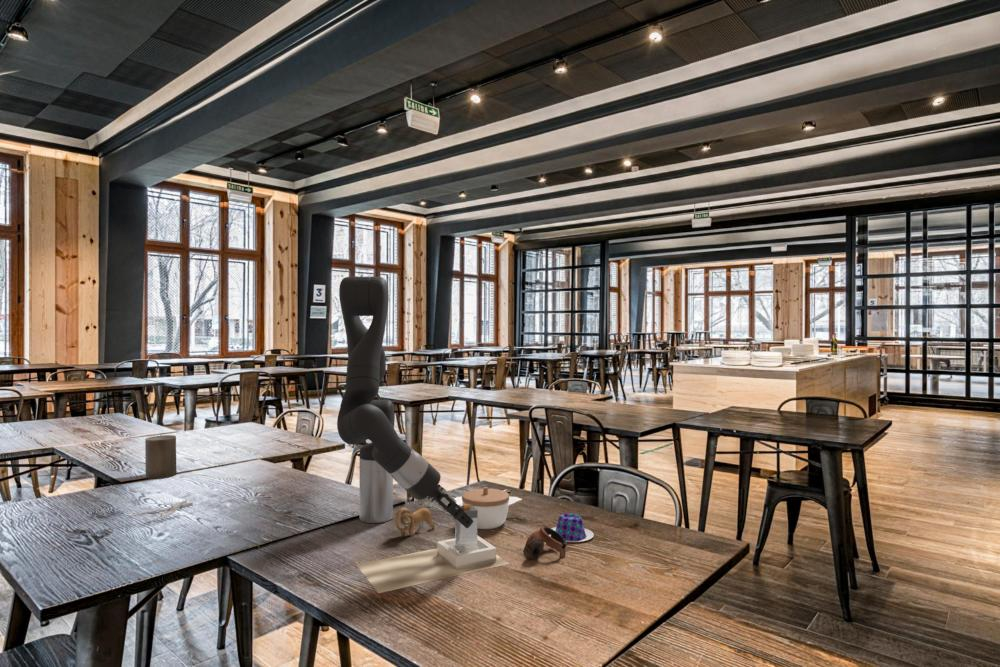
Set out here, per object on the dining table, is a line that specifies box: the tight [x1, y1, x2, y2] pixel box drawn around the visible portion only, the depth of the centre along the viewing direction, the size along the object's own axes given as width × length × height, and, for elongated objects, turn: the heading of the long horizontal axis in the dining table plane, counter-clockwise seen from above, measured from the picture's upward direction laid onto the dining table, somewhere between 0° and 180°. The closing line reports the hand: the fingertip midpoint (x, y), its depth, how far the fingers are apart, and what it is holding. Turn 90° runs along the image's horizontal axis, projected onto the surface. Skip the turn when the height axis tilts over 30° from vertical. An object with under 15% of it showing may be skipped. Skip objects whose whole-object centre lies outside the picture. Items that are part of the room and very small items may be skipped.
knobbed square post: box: [453, 504, 479, 554], centre depth 135 cm, size 4×5×11 cm
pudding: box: [549, 512, 595, 543], centre depth 154 cm, size 12×12×5 cm
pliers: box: [129, 499, 194, 523], centre depth 171 cm, size 10×2×15 cm
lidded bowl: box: [461, 486, 510, 530], centre depth 159 cm, size 13×13×11 cm
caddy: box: [436, 534, 497, 570], centre depth 135 cm, size 10×10×3 cm
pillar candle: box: [144, 433, 178, 480], centre depth 212 cm, size 10×10×15 cm
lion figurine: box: [394, 507, 436, 537], centre depth 152 cm, size 15×5×9 cm, turn 153°
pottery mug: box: [523, 526, 568, 560], centre depth 137 cm, size 12×10×8 cm
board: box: [355, 548, 510, 594], centre depth 131 cm, size 16×30×2 cm, turn 119°
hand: (463, 518), depth 134 cm, fingers open, 8 cm apart
